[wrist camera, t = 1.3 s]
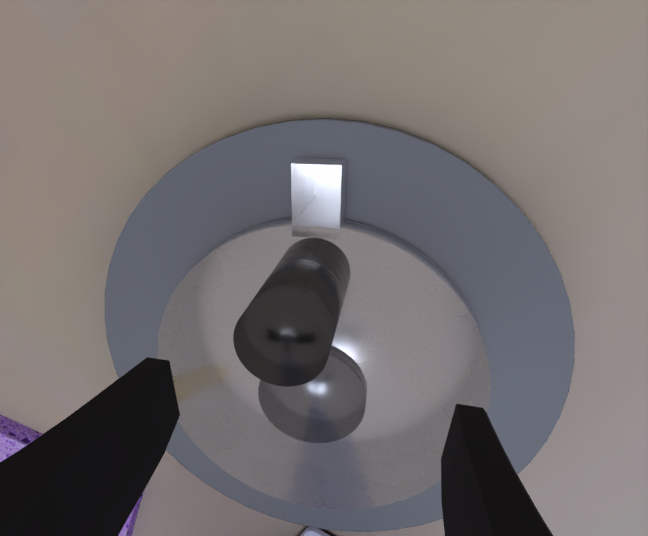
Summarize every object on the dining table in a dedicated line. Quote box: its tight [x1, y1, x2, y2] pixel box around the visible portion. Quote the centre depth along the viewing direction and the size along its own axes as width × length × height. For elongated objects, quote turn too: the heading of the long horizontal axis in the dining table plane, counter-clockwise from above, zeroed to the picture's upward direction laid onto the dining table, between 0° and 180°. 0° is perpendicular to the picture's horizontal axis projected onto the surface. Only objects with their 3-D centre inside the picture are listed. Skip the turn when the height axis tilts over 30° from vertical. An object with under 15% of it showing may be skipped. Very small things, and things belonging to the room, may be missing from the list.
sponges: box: [0, 415, 144, 536], centre depth 32 cm, size 7×13×2 cm, turn 68°
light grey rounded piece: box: [157, 158, 491, 510], centre depth 19 cm, size 18×16×8 cm
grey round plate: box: [105, 118, 575, 532], centre depth 23 cm, size 24×24×4 cm
